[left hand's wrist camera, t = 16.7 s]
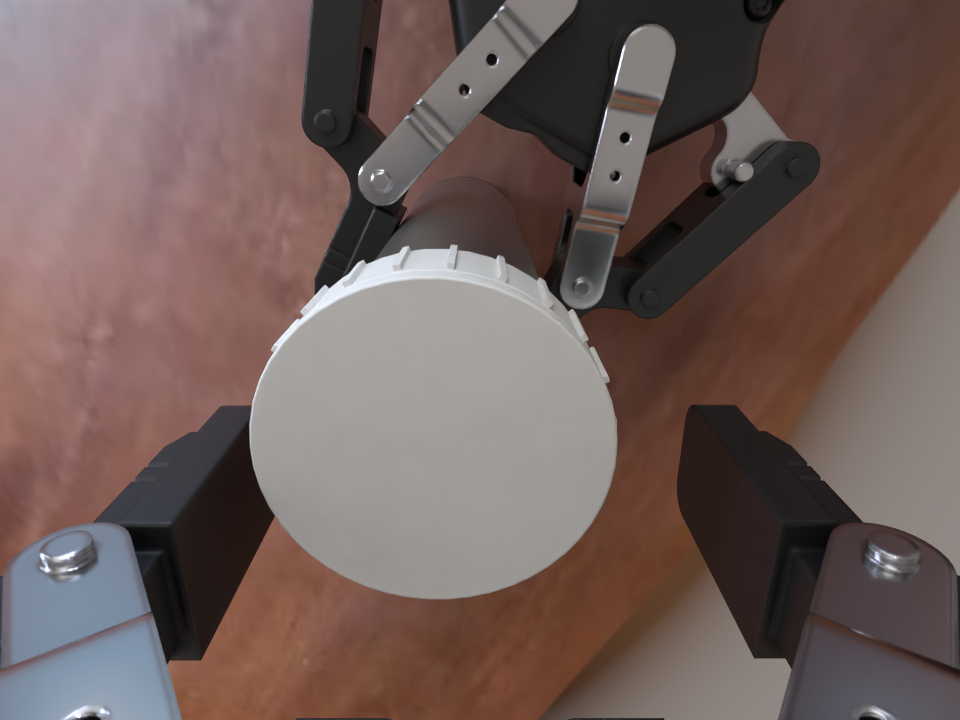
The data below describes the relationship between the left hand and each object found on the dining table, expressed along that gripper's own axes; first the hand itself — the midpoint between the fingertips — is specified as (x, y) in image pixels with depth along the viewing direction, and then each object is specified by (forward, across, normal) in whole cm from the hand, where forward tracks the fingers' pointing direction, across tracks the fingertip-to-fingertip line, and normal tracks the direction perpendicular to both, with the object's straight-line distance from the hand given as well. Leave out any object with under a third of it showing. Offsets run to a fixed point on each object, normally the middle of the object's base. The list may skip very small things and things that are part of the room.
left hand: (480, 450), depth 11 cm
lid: (-2, -1, +1) cm, 3 cm away
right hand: (+7, -2, -1) cm, 8 cm away
